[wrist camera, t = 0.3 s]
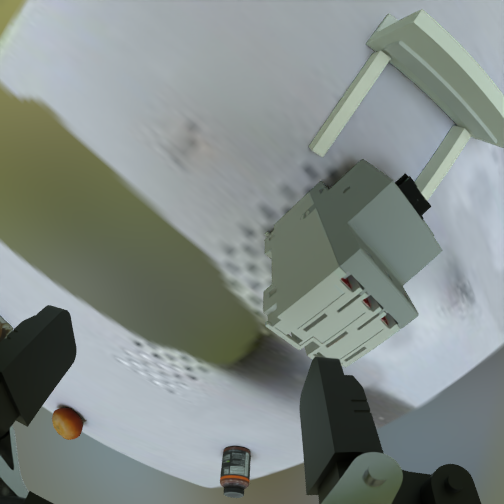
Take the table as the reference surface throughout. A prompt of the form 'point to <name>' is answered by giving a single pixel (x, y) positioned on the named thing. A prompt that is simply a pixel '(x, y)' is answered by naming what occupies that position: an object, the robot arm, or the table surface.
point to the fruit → (67, 423)
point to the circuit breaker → (347, 264)
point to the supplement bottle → (235, 471)
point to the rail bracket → (427, 89)
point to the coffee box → (4, 329)
